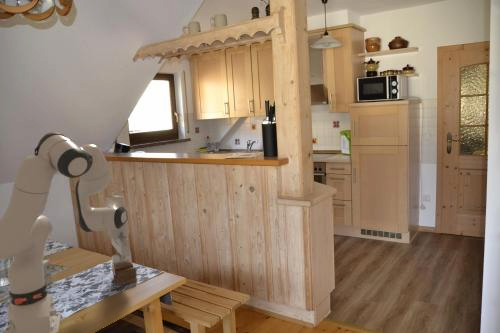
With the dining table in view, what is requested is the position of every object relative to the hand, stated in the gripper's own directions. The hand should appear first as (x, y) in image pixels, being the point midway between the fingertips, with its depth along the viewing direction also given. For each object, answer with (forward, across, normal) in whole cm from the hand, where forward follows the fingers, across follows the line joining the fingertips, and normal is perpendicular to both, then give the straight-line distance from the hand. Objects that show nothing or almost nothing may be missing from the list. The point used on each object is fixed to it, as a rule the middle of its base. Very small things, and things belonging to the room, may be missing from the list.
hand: (121, 259), depth 185 cm
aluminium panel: (+6, 0, 0) cm, 6 cm away
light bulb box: (+9, +14, +34) cm, 38 cm away
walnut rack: (+9, -2, 0) cm, 9 cm away
